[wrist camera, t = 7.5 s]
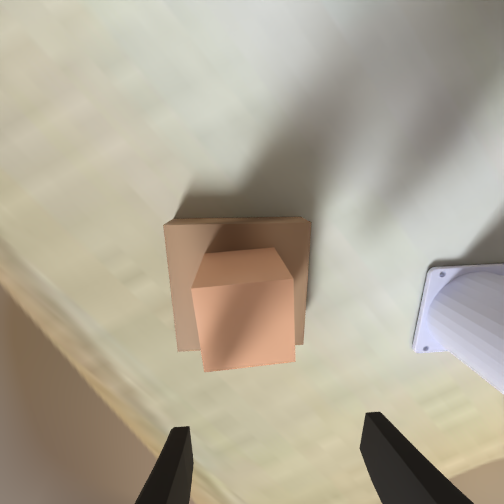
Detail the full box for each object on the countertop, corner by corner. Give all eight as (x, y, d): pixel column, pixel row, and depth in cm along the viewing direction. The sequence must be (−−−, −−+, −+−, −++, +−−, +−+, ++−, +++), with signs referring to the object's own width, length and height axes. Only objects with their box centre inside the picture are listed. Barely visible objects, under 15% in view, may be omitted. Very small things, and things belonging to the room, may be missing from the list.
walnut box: (298, 215, 18) (311, 222, 15) (293, 321, 20) (303, 344, 17) (175, 217, 17) (163, 225, 14) (185, 326, 19) (177, 351, 17)
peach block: (274, 247, 15) (293, 278, 10) (276, 308, 16) (295, 361, 11) (204, 253, 15) (190, 288, 10) (212, 315, 16) (204, 372, 11)
